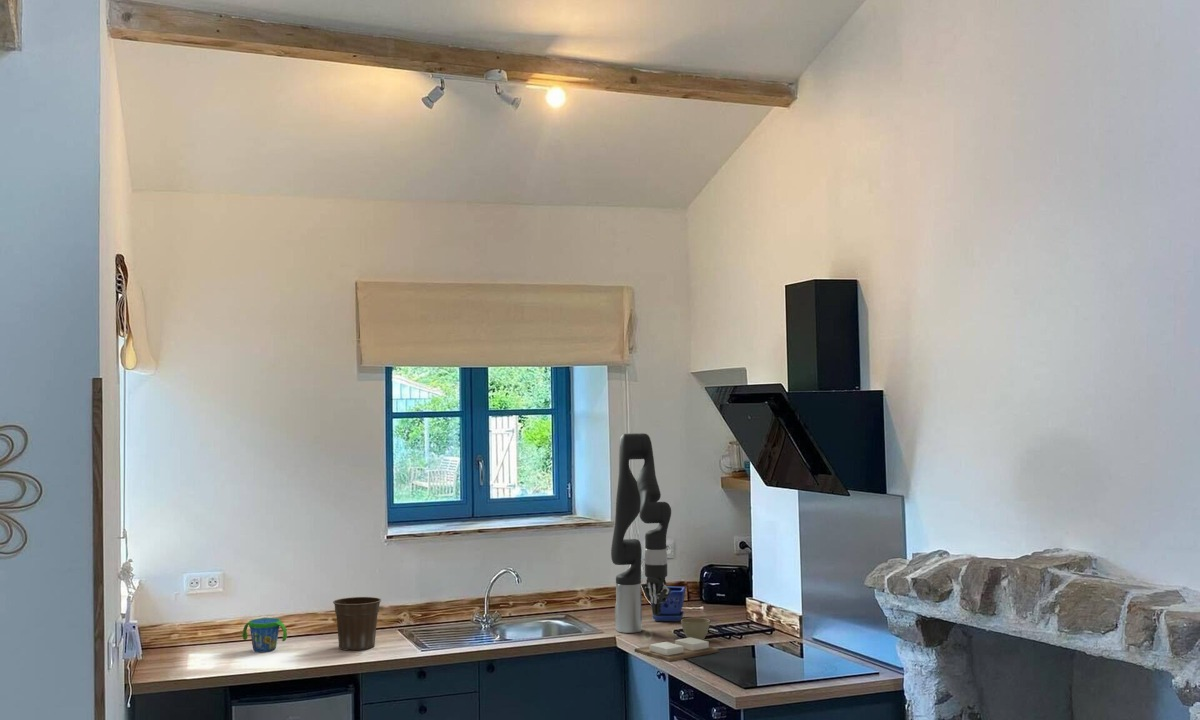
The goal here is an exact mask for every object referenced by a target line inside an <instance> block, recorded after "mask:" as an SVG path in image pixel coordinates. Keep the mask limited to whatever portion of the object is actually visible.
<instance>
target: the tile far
mask: <svg viewBox="0 0 1200 720" xmlns="http://www.w3.org/2000/svg"><path fill="white" fill-rule="evenodd" d="M674 642H675V644H677V645H681V646H683V648H684V649H688V650H692V651H695V650H700V649H706V648H709V647H710V645H709V644H710V643H709V641H708V640H705V639H704V640H700V639H696V638H692V637H690V638H686V637H684V638H680V639H679V638H678V639H675V640H674Z"/></svg>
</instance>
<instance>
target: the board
mask: <svg viewBox="0 0 1200 720" xmlns="http://www.w3.org/2000/svg"><path fill="white" fill-rule="evenodd" d="M669 643H673V644H675V641H670V642H669ZM683 649H684V648H683ZM718 652H719V648H716V647H711V646H709V648H706V649H700V650H695V651H692V650H688V649H684V652H683V653H679V654H673V655H668V656H666V655H663V654H659V653H655V652H652V651H650V647H649V645H648V646H643V647H639V648H638V647H637V648H634V653H637V654H640V655H645V656H649V657H652V658H654V659H655V658H656V659H659V660H663V661H666V662H673V661H677V660H683V659H690V658H694V657H699V656H704V655H709V654H713V653H714V654H715V653H718Z"/></svg>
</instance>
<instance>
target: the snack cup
mask: <svg viewBox="0 0 1200 720" xmlns="http://www.w3.org/2000/svg"><path fill="white" fill-rule="evenodd" d="M248 627H249V630H250V637H251V644H252V645H251V646H252V650H253V651H254V652H257V653H266V652H273V651H275V649H276V648H277V644H278V639H279V638H278V637H279V631H280V628H281V631H282V632H283V633H282V639H281V642H285V641H286V640H287V637H288V633H287V628H286V625H285V623H283V622H282V620H281V619H280V618H277V617H264V618H263V617H262V618H255V619H251V620H249V621H248V622H246V623H245V624H244V627H243V630H242V639H243V640H244V641H246V640H247V639H248Z"/></svg>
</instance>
